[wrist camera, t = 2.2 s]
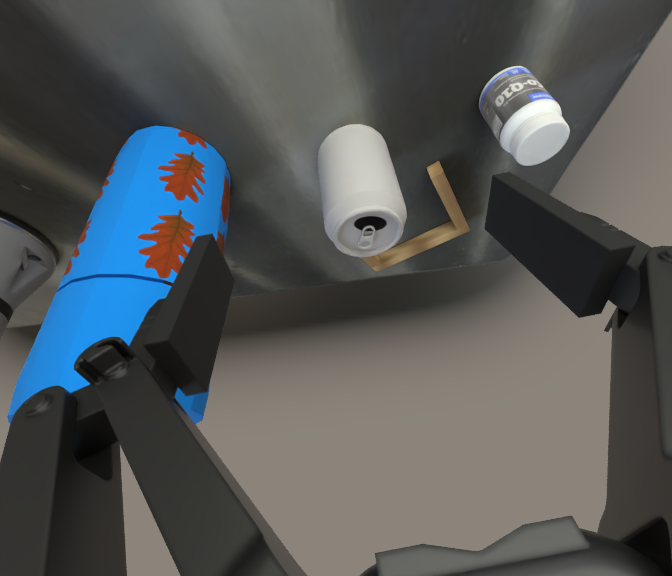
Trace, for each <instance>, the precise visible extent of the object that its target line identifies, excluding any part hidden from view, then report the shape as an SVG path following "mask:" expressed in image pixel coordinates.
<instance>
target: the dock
mask: <svg viewBox="0 0 672 576" xmlns="http://www.w3.org/2000/svg"><path fill="white" fill-rule="evenodd" d="M427 171H428V173H429V176H430V178H431V180H432V182H433V184H434V186H435V188H436V190H437V192H438V194H439V196H440V198H441V200H442V202H443V204H444V206H445V208H446V210H447V212H448V214H449V216H450V218H451V221H449V222H447V223H445V224H443V225H440V226H438V227H436V228H434V229H432V230H430V231H428V232H425V233H423V234H421V235H419V236H417V237H415V238H412V239H410V240H408V241H406V242H404V243H402V244H400V245H397V246H395V247H393V248H391V249H389V250H387V251H385V252H382V253H380V254H377V255H373V256H370V257H361V258H362V259H363V260H364V261H365V262H366V263H367V264H368V265H369V266H370V267H371V268H373V269H374V270H375V271H376V272H377V271H380V270H382V269H384V268H386V267H389V266H391V265H393V264H395V263H398V262H400V261H402V260H405V259H407V258H409V257H411V256H414V255H416V254H418V253H420V252H423V251H425V250H427V249H430V248H432V247H434V246H436V245H439V244H441V243H443V242H445V241H448V240H450V239H452V238H455V237H457V236H459V235H461V234H464V233H466V232H468V231H470V229H469V227H468V225H467V222H466V220H465V218H464V216H463V213H462V211H461V209H460V207H459V205H458V202H457V200H456V198H455V196H454V193H453V191H452V189H451V187H450V185H449V182H448V180H447V178H446V176H445V173H444V171H443V169H442V167H441V165H440V162H439V161H437V162H436V163H434V164H432V165H430V166H428V167H427Z"/></svg>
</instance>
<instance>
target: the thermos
mask: <svg viewBox="0 0 672 576" xmlns="http://www.w3.org/2000/svg"><path fill="white" fill-rule="evenodd" d="M230 178H231V176H230V173H229V170H228V168H227V165H226V162H225V161H224V159H223V158H222V157H221V156H220V155H219V153H218V152H217V151H216V150H215V148H214V147H212V146H211V145H210V144H208V143H207V142H205V141H204V140H202V139H201V138H200V137H198V136H197V135H194V134H192V133H189V132H186V131H184V130H181V129H178V128H176V127H164V126H152V127H148V128H144V129H141V130H137V131H136V132H135V133H134V134H133V135H132V136H131V137H130V138H128V139H127V140H126V142H125V143H124V145H123V147H122V149H121V150H120V152H119V154H118V156H117V157H116V159H115V161H114V163H113V164H112V167H111V169H110V171H109V173H108V176H107V178H106V180H105V183H104V185H103V187H102V189H101V192H100V194H99V196H98V199H97V201H96V203H95V205H94V208H93V210H92V212H91V214H90V217H89V219H88V221H87V224H86V226H85V228H84V230H83V233H82V235H81V237H80V240H79V242H78V244H77V246H76V249H75V251H74V253H73V255H72V258H71V260H70V262H69V265H68V267H67V269H66V271H65V274H64V276H63V278H62V281H61V283H60V285H59V287H58V290H57V293H56V294H55V297H54V299H53V301H52V303H51V306H50V308H49V310H48V312H47V315H46V317H45V319H44V322H43V324H42V326H41V329H40V331H39V333H38V335H37V338H36V340H35V342H34V344H33V347H32V349H31V351H30V354H29V356H28V358H27V360H26V363H25V365H24V367H23V370H22V372H21V374H20V376H19V379H18V381H17V383H16V387H15V390H14V394H13V398H12V402H11V405H10V409H9V413H8V421H9V423H11V420H12V418H13V416H14V414H15V412H16V411H17V409H18V408H19V407H20V406H21V405H22V404H23V402H25V401H26V400H27V399H29V397H31V396H32V395H34V394H36V393H37V392H39V391H41V390H43V389H45V388H48V387H51V386H58V385H59V386H61V387H63V388H65V389H66V390H67V391H69V392H70V393H71V392H74V391H76V390H78V389H81V388H83V387H85V386H87V385H90V383H89V382H88V381H86V380H85V379H84V378H83V377H82V376H81V375H80V374H78V373H77V372H76V371H75V370H74V363H75V361H76V360H77V358H78V356H79V355H80V354H81V353H82V352H83V351H84V350H85V349H87V348H88V347H90V346H91V345H92V344H94V343H96V342H98V341H100V340H102V339H105V338H108V337H120V338H121V339H123V340H124V341H125V343H126V344H127V345H128V346H129V345H130V343H131V341H132V339H133V337H134V336H135V334H136V332H137V330H138V329H139V326H140V325H141V323H142V321H144V317H145V315H146V313H147V312H148V310H149V309H150V308H151V307H152V306H153V305H154V304H155V303H156V302H157V301H158V300H159V299H163V298H166V297H167V295H168V293H169V291H170V289H171V287H172V285H173V283H174V281H175V279H176V277H177V275H178V273H179V271H180V269H181V267H182V265H183V263H184V260H185V258H186V256H187V254H188V252H189V250H190V248H191V246H192V244H193V242H194V240H195V238H196V237H197V236H202V235H207V234H211V233H213V235H214V237H215V240H216V242H217V244H218V246H219V248H220V250H221V252H222V254H223V257H224V252H225V243H226V234H227V226H228V217H229V205H230ZM209 384H210V383H209ZM208 392H209V387H208V391H207V392H205V393H200V394H195V395H190V396H185V395H184V393H183V392H182V391H181V390H180V389H179V387H178V388H177V391H176V394H175V398H176V400H177V401H178V402H179V403H180V404H181V406H182V407H183V409H184V410H185V411H186V413H187V414H188V415H189V417H190V418H191V419H192V421H193V422H194V424H196V423H198V422H200V421H202V419H203V415H204V410H205V407H206V403H207V398H208Z"/></svg>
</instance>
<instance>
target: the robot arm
mask: <svg viewBox="0 0 672 576" xmlns="http://www.w3.org/2000/svg"><path fill="white" fill-rule="evenodd" d="M485 230H486V231H488V232H489V233H490V234H491V235H492V236H493V237H494V238H495V239H496V240H497V241H498V242H499V243H500V244H501V245H502V246H503V247H504V248H506V249H507V250H508V251H509V252H510V253H511V254H512V255H513V256H514V257H515V258H516V259H517V260H518V261H519V262H520V263H522V264H523V265H524V266H525V267H526V268H527V269H528V270H529V271H530V272H531V273H532V274H533V275H534V276H535V277H536V278H537V279H538V280H539V281H541V282H542V283H543V284H544V285H545V286H546V287H547V288H548V289H549V290H550V291H551V292H552V293H553V294H554V295H555V296H557V298H559V299H560V300H561V301H562V302H563V303H564V304H565V305H566V306H567V307H568V308H569V309H570V310H571V311H572V312H573V313H574V314H576V315H577V316H578V317H579V318H580V317H585V316H590V315H595V314H600V313H601V312H602V310H603V308H604V306H605V305H606V302H607V301H608V300H610V301H611V302H612V303H613V304H614V305H616V306H617V308H616V310H615V311H614V313H613V315H612V317H611V319H610V320H609V322H608V324H607V326H606V328H605V330H604V331H606V332H608V331H609V329H610V328H612V351H611V352H612V353H611V383H610V413H609V415H610V416H609V445H608V475H607V477H608V479H607V501H606V506H605V510H604V513H603V515H602V518H601V520H600V524H599V528H598V533H596V532H592V531H588V530H584V529H580V528H579V527H578V525H577V524H576V522H575V520H574V519H573V517H572V516H567V517H562V518H556V519H551V520H546V521H541V522H536V523H530V524H525V525H522V526H521V527H519V528H517V529H516V530H514V531H513V532H511V533H509V534H508V535H506V536H504V537H503V538H501V539H499V540H498V541H496V542H495V543H493V544H491V545H490V546H488V547H487V548H485V549H483V550H481V551H469V550H462V549H455V548H447V547H441V546H433V545H426V544H420V545H415V546H410V547H404V548H399V549H395V550H389V551H384V552H379V553H375V557H376V564H375V565H373V566H371V567H370V568H368V569H367V570H366V571H364V572H363V573H362V574H361V575H360V576H672V246H659V247H653V248H652V247H650V246H648V245H646V244H645V243H643V242H641V241H639V240H637V239H636V238H633V237H632V236H630V235H628V234H627V233H625V232H623V231H621V230H620V231H619V230H618V228H616V227H614V226H612V225H609V224H608V223H607V222H605V221H603V220H602V219H600V218H598V217H596V216H592V215H589V214H586V213H582V212H578V211H576V210H575V209H573V208H571V207H569V206H567V205H566V204H564V203H562V202H561V201H559V200H557V199H555V198H553V197H552V196H550V195H549V194H547V193H545V192H543V191H542V190H540V189H538V188H536V187H535V186H533V185H531V184H529V183H528V182H526V181H524V180H522V179H521V178H519V177H517V176H516V175H514V174H512V173H510V172H506V173H501V174H496V175H493V176H492V183H491V190H490V196H489V203H488V209H487V216H486V223H485ZM58 260H59V257H58V253H57V251H56V249H55V247H54V246H53V245H52V244H51V243H50V241H49V240H48V239H46V238H45V237H44V236H43V235H42V234H41V233H39V232H38V231H36V230H35V229H34V228H32V227H30V226H29V225H27V224H26V223H24V222H22V221H20V220H18V219H16V218H14V217H12V216H10V215H8V214H6V213H4V212H1V211H0V338H1V336H2V334H3V332H4V330H5V328H6V326H7V324H8V322H9V320H10V318H11V316H12V314H13V312H14V310H15V309H16V308H17V307H18V306H19V305H20V304H21V303H22V302H23V301H24V300H26V299H27V298H28V297H29V296H30V295H31V294H32V293H33V292H34V291H36V290H37V289H38V288H39V287H40V286H41V285H42V284H43V283H44V282H46V281H47V280H48V279H49V277H50V276H51V275H52V273H53V272H54V270H55V268H56V266H57V264H58ZM233 284H234V278H233V276H232V274H231V271H230V269H229V267H228V265H227V263H226V261H225V259H224V257H223V254H222V252H221V250H220V248H219V246H218V244H217V242H216V240H215V237H214V235H213V233H211V234H207V235H202V236H197V237H196V238H195V240H194V242H193V244H192V246H191V248H190V250H189V252H188V254H187V256H186V258H185V260H184V263H183V265H182V267H181V269H180V271H179V273H178V275H177V277H176V279H175V281H174V283H173V285H172V287H171V289H170V291H169V293H168V295H167V297H166V298H163V299H159V300H158V301H157V302H156V303H155V304H154V305H153V306H152V307H151V308H150V309H149V310H148V312H147V313H146V315H145V317H144V321H142V323H141V325H140V326H139V329H138V330H137V332H136V334H135V336H134V337H133V339H132V341H131V343H130V345H129V346H128V345H127V344H126V343H125V341H124V340H123V339H121V338H120V337H108V338H105V339H102V340H100V341H98V342H96V343H94V344H92V345H91V346H90V347H88V348H87V349H85V350H84V351H83V352H82V353H81V354H80V355H79V356H78V358H77V360H76V361H75V363H74V370H75V371H76V372H77V373H78V374H80V375H81V376H82V377H83V378H84V379H85V380H86V381H88V382H89V383H90V385H87V386H85V387H83V388H81V389H78V390H76V391H74V392H71V393H70V392H69V391H67V390H66V389H65V388H63V387H61V386H59V385H58V386H51V387H48V388H45V389H43V390H41V391H39V392H37V393H36V394H34V395H32V396H31V397H29V399H27V400H26V401H25V402H23V404H22V405H21V406H20V407H19V408H18V409H17V411H16V412H15V414H14V416H13V418H12V420H11V424H10V428H9V432H8V436H7V439H6V443H5V447H4V451H3V455H2V458H1V462H0V576H127V570H126V552H125V536H124V535H125V534H124V515H123V499H122V498H123V497H122V480H121V462H120V445H121V447H122V450H123V452H124V454H125V456H126V458H127V460H128V463H129V464H130V467H131V469H132V471H133V473H134V475H135V478H136V480H137V482H138V484H139V486H140V489H141V491H142V493H143V495H144V497H145V499H146V502H147V504H148V506H149V508H150V510H151V512H152V514H153V517H154V519H155V521H156V523H157V525H158V528H159V530H160V532H161V534H162V536H163V538H164V541H165V543H166V545H167V547H168V549H169V551H170V554H171V556H172V558H173V560H174V562H175V564H176V566H177V569H178V571H179V573H180V575H181V576H307V575H306V574H305V572H304V571H303V570H302V569H301V567H300V566H299V565H298V564H297V562H296V561H295V560H294V559H293V557H292V556H291V555H290V553H289V552H288V550H287V549H286V548H285V546H284V545H283V543H282V542H281V541H280V539H279V538H278V537H277V535H276V534H275V533H274V531H273V530H272V528H271V527H270V526H269V524H268V523H267V522H266V521H265V519H264V518H263V516H262V515H261V513H260V512H259V511H258V509H257V508H256V507H255V506H254V504H253V503H252V501H251V500H250V498H249V497H248V496H247V494H246V493H245V492H244V490H243V489H242V488H241V486H240V485H239V483H238V482H237V481H236V479H235V478H234V477H233V475H232V474H231V473H230V471H229V470H228V469H227V467H226V466H225V465H224V463H223V462H222V460H221V459H220V458H219V456H218V455H217V454H216V452H215V451H214V449H213V448H212V447H211V445H210V444H209V443H208V441H207V440H206V439H205V437H204V436H203V435H202V433H201V432H200V430H199V429H198V428H197V426H196V425H195V424H194V422H193V421H192V419H191V418H190V417H189V415H188V414H187V413H186V411H185V410H184V409H183V407H182V406H181V404H180V403H179V402H178V401H177V400H176V398H175V394H176V391H177V388H178V387H179V389H180V390H181V391H182V392H183V393H184V395H185V396H190V395H195V394H200V393H205V392H207V391H208V387H209V383H210V379H211V375H212V371H213V366H214V362H215V358H216V354H217V350H218V346H219V342H220V338H221V333H222V329H223V325H224V321H225V317H226V312H227V308H228V305H229V300H230V296H231V292H232V288H233Z"/></svg>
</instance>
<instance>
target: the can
mask: <svg viewBox="0 0 672 576" xmlns="http://www.w3.org/2000/svg"><path fill="white" fill-rule="evenodd" d="M318 171H319V180H320V189H321V198H322V207H323V216H324V225H325V231H326V233H327V235H328V237H329V238H330V239H331V240H332V241H333V242H334V244H335V246H336V248H338V249H339V250H340V251H341V252H342V253H345V254H347V255H350V256H355V257H370V256H373V255H377V254H380V253H382V252H385V251H387V250H388V249H390V248H391V247H392V246H394V245H395V244H396V243H397V242H398V240H399V239H400V238H401V236H402V233H403V226H404V225H405V221H406V218H407V212H406V206H405V203H404V200H403V197H402V193H401V190H400V187H399V184H398V180H397V177H396V174H395V171H394V167H393V164H392V161H391V158H390V155H389V151H388V148H387V145H386V142H385V140H384V139H383V137H382V135H381V134H380V133H379V132H377V131H376V130H375V129H373V128H372V127H369V126H365V125H362V124H355V125H347V126H344V127H341V128H338V129H336V130H335V131H334V132H332V133H331V134H329V135H328V136H327V137H326V139H325V140H324V141H323V143H322V144H321V146H320V149H319V152H318Z"/></svg>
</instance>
